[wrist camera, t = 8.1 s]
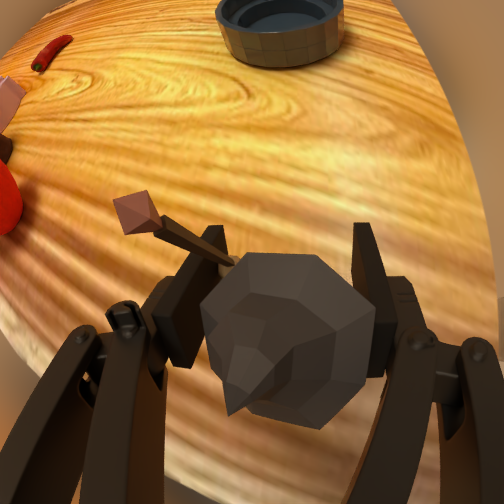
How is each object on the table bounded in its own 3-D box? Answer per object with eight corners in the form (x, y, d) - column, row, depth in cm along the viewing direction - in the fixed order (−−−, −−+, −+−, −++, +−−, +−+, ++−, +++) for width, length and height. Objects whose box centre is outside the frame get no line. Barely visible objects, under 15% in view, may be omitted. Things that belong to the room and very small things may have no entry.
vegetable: (37, 65, 42) (72, 31, 46) (23, 63, 42) (57, 30, 45) (43, 78, 47) (75, 45, 50) (29, 76, 46) (61, 43, 50)
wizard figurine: (379, 309, 16) (436, 277, 5) (336, 399, 15) (298, 523, 4) (251, 254, 19) (117, 162, 8) (213, 337, 18) (46, 336, 7)
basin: (357, 20, 32) (357, -13, 26) (320, 83, 30) (317, 43, 24) (259, 4, 36) (251, -25, 31) (206, 61, 34) (191, 28, 29)
